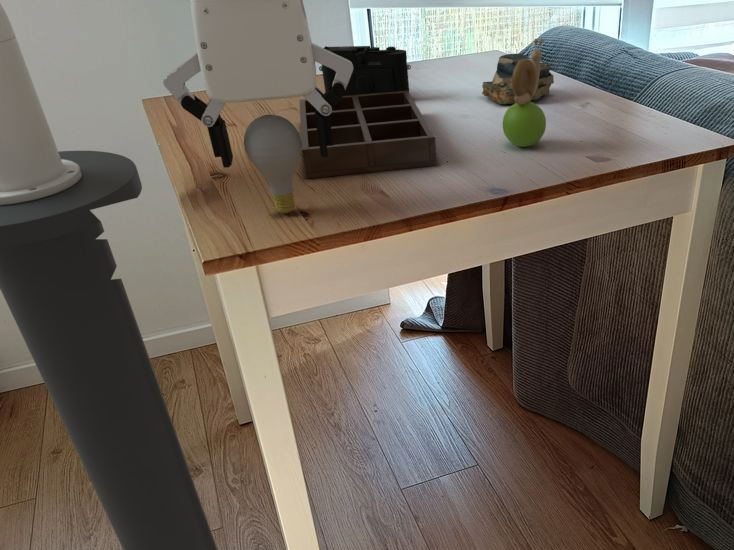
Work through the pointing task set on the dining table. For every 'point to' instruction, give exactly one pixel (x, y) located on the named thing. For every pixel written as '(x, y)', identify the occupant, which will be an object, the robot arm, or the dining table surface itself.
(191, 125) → the dining table surface
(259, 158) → the light bulb
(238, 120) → the dining table surface
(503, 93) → the rock
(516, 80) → the snail figurine
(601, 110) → the dining table surface
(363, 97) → the compartment tray
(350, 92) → the camera
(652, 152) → the dining table surface
